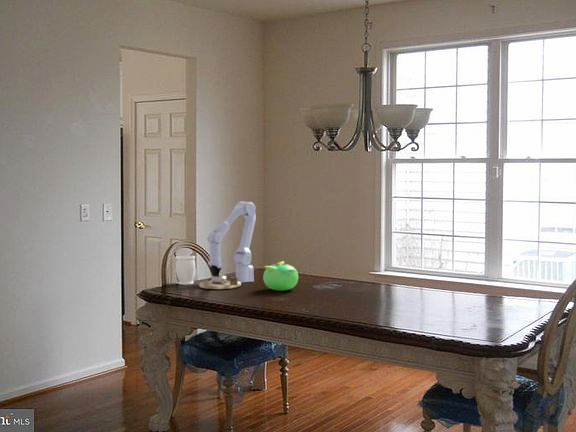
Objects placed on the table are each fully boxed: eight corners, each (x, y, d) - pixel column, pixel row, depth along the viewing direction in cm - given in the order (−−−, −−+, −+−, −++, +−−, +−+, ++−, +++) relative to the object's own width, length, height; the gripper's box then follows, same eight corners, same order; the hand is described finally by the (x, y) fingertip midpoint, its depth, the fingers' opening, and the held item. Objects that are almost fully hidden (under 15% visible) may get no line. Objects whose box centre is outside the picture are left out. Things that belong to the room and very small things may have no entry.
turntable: (231, 280, 396) (231, 271, 395) (247, 286, 376) (247, 277, 376) (193, 284, 386) (193, 274, 385) (207, 290, 366) (207, 280, 366)
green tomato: (299, 287, 375) (299, 260, 374) (296, 293, 359) (296, 264, 358) (265, 287, 377) (265, 259, 376) (261, 293, 361) (260, 264, 359)
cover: (223, 281, 387) (223, 274, 387) (228, 283, 380) (228, 276, 380) (209, 282, 384) (209, 275, 384) (214, 284, 377) (214, 277, 376)
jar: (172, 284, 388) (172, 257, 387) (181, 281, 398) (180, 254, 397) (190, 285, 385) (190, 257, 384) (198, 282, 395) (198, 255, 394)
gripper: (203, 253, 391) (203, 278, 392) (212, 256, 378) (213, 282, 379) (215, 252, 394) (216, 277, 395) (225, 255, 381) (225, 281, 382)
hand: (215, 279), depth 387 cm, fingers closed
